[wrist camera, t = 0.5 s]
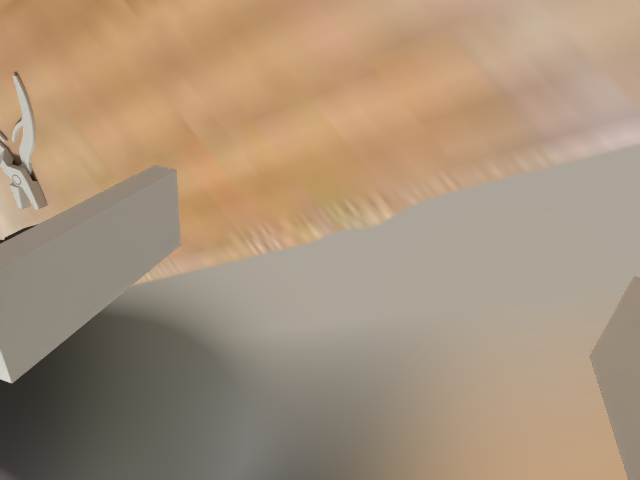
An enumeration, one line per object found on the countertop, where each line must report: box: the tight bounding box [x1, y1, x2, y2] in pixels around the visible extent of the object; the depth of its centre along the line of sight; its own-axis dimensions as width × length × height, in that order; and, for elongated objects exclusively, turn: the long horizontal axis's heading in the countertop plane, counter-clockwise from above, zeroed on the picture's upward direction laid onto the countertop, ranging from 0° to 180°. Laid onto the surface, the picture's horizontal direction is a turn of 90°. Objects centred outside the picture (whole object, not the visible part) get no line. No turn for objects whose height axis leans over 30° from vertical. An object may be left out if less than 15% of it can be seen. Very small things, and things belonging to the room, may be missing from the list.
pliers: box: [0, 75, 47, 210], centre depth 52 cm, size 10×2×15 cm
